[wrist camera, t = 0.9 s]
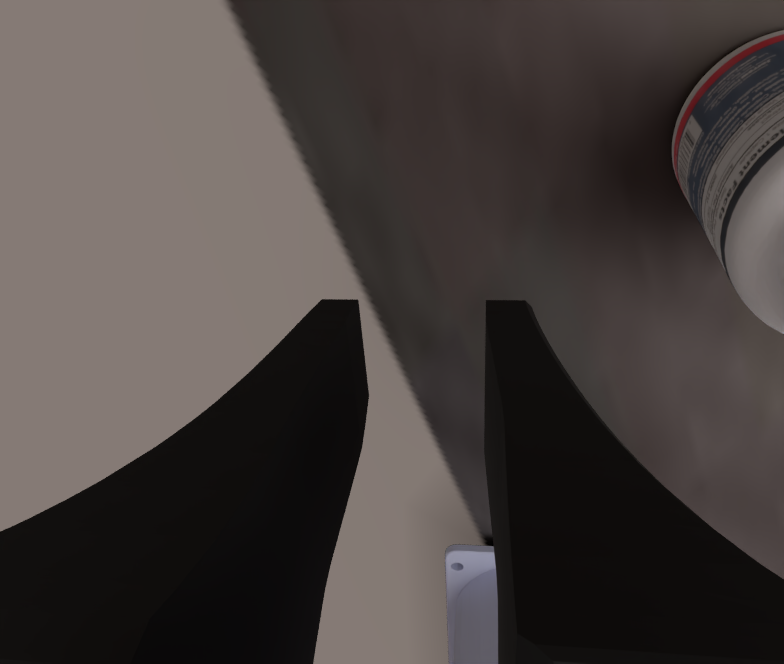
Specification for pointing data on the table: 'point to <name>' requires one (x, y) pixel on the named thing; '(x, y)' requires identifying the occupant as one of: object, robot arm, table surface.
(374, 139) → the table surface
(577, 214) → the table surface
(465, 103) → the table surface
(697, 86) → the pill bottle
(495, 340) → the robot arm
